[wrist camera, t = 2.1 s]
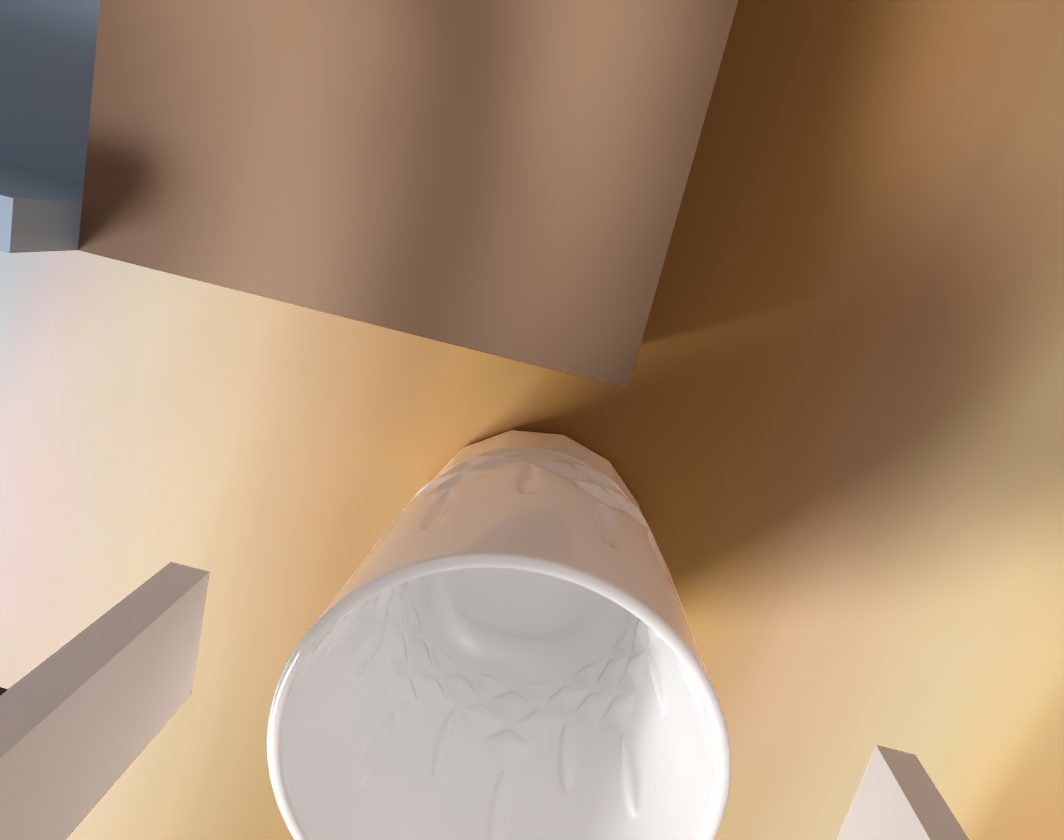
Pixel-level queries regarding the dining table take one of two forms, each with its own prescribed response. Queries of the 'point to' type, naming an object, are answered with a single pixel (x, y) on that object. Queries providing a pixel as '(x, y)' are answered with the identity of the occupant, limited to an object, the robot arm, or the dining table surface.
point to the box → (44, 120)
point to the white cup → (504, 670)
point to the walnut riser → (409, 159)
